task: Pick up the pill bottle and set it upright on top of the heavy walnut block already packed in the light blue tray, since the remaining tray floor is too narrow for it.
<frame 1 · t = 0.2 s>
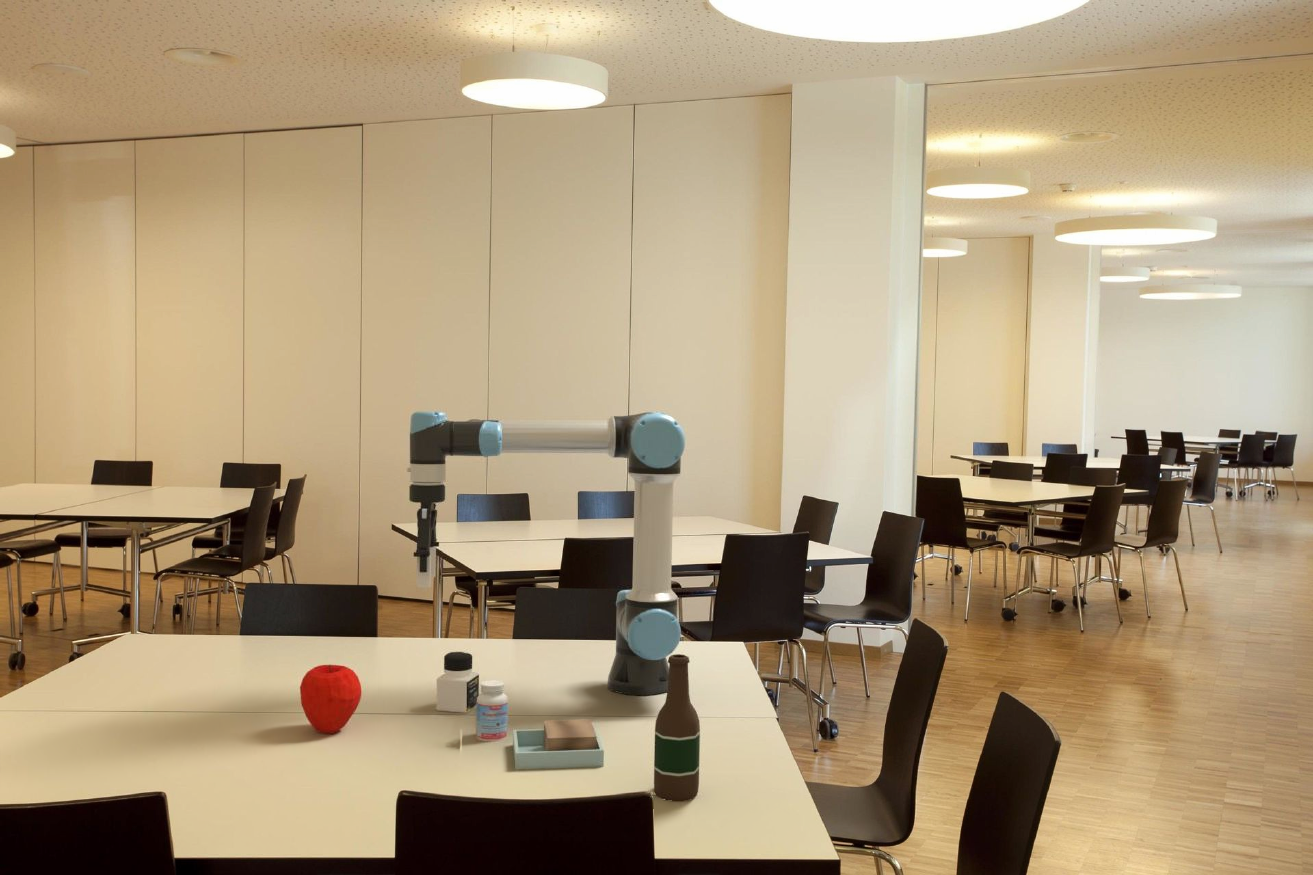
hand: (426, 582, 237), 28 cm above the table, fingers open, 13 cm apart
beer bottle: (676, 795, 190), on the table
walnut block: (569, 754, 208), point 1 cm above the table, touching light blue tray
apple: (330, 731, 222), on the table
medicine bottle: (457, 708, 240), on the table
pill bottle: (491, 740, 218), on the table
light blue tray: (556, 758, 207), on the table
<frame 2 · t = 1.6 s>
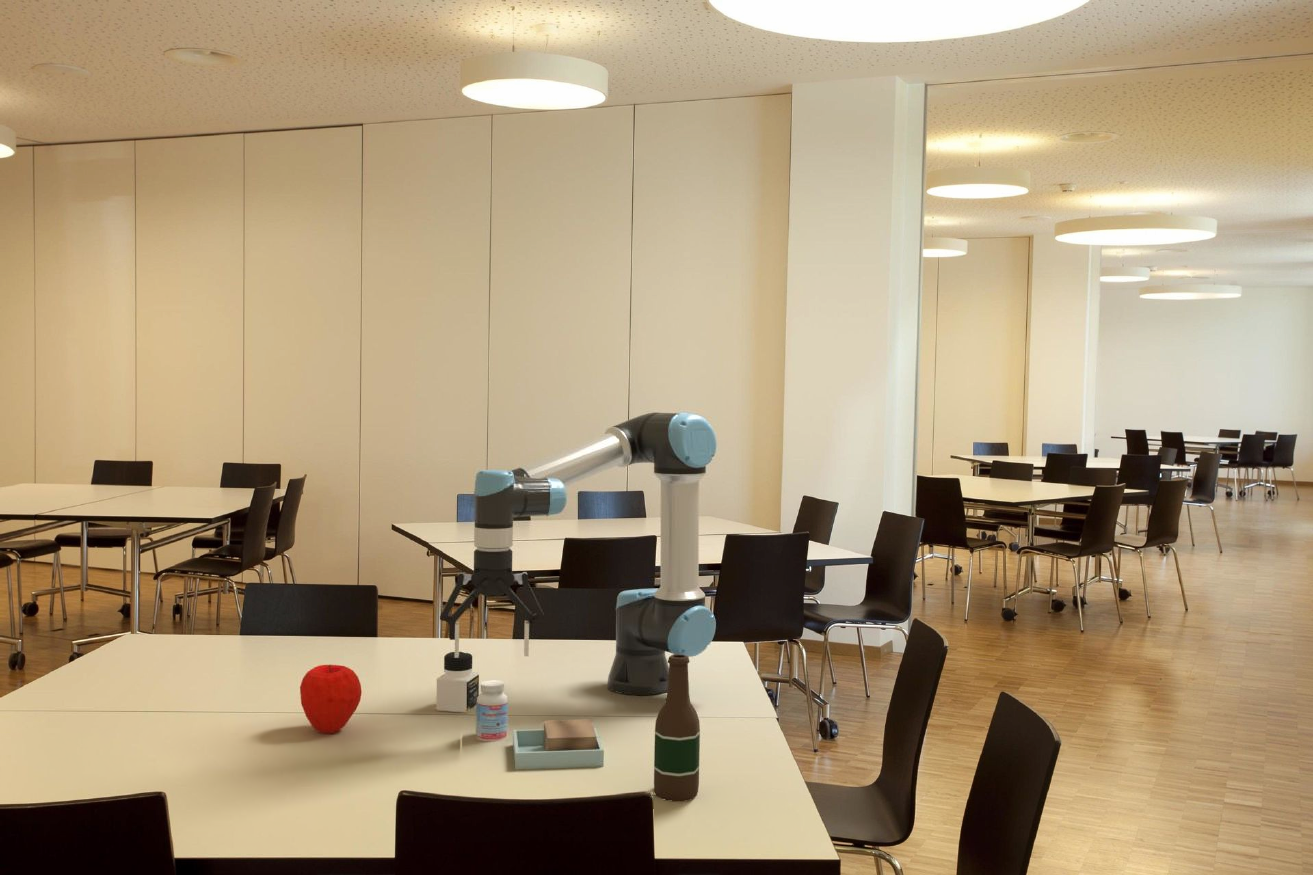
hand: (491, 655, 218), 17 cm above the table, fingers open, 13 cm apart
nothing on the table moved.
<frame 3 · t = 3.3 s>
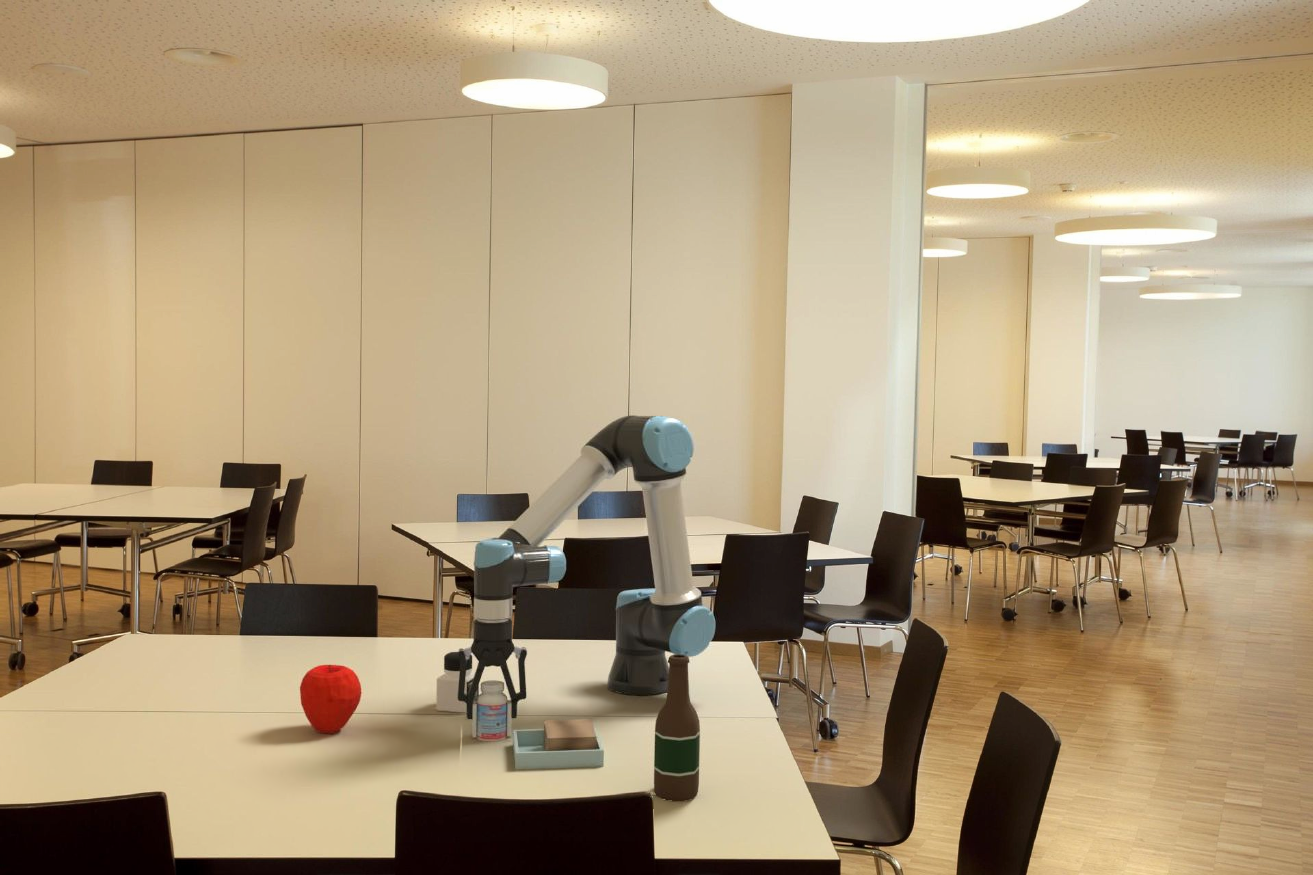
hand: (491, 734, 218), 1 cm above the table, fingers closed on pill bottle, 6 cm apart
pill bottle: (491, 740, 218), on the table, touching gripper
everything else where it was.
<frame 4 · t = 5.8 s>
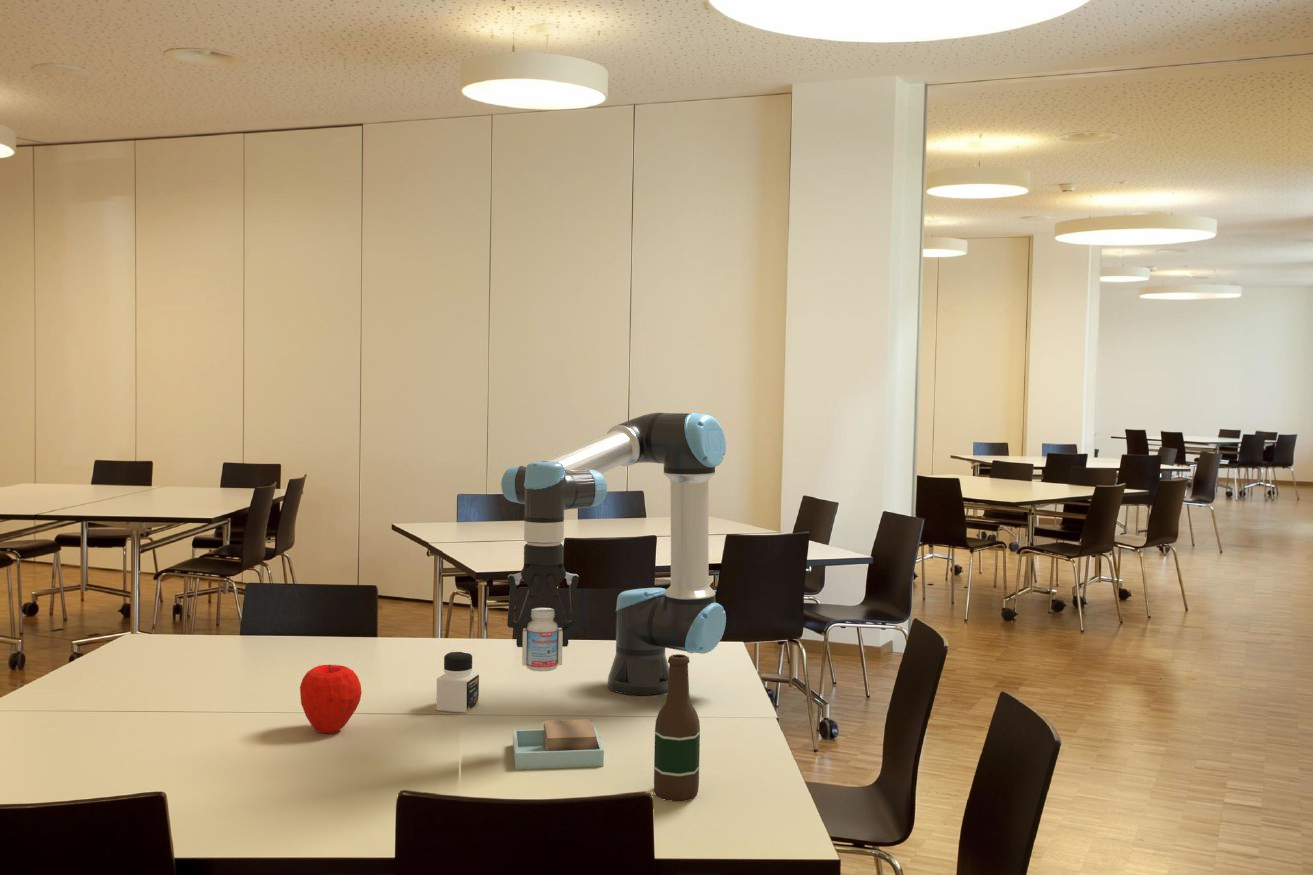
hand: (542, 663, 211), 17 cm above the table, fingers closed on pill bottle, 6 cm apart
pill bottle: (541, 669, 211), point 16 cm above the table, touching gripper
everything else where it was.
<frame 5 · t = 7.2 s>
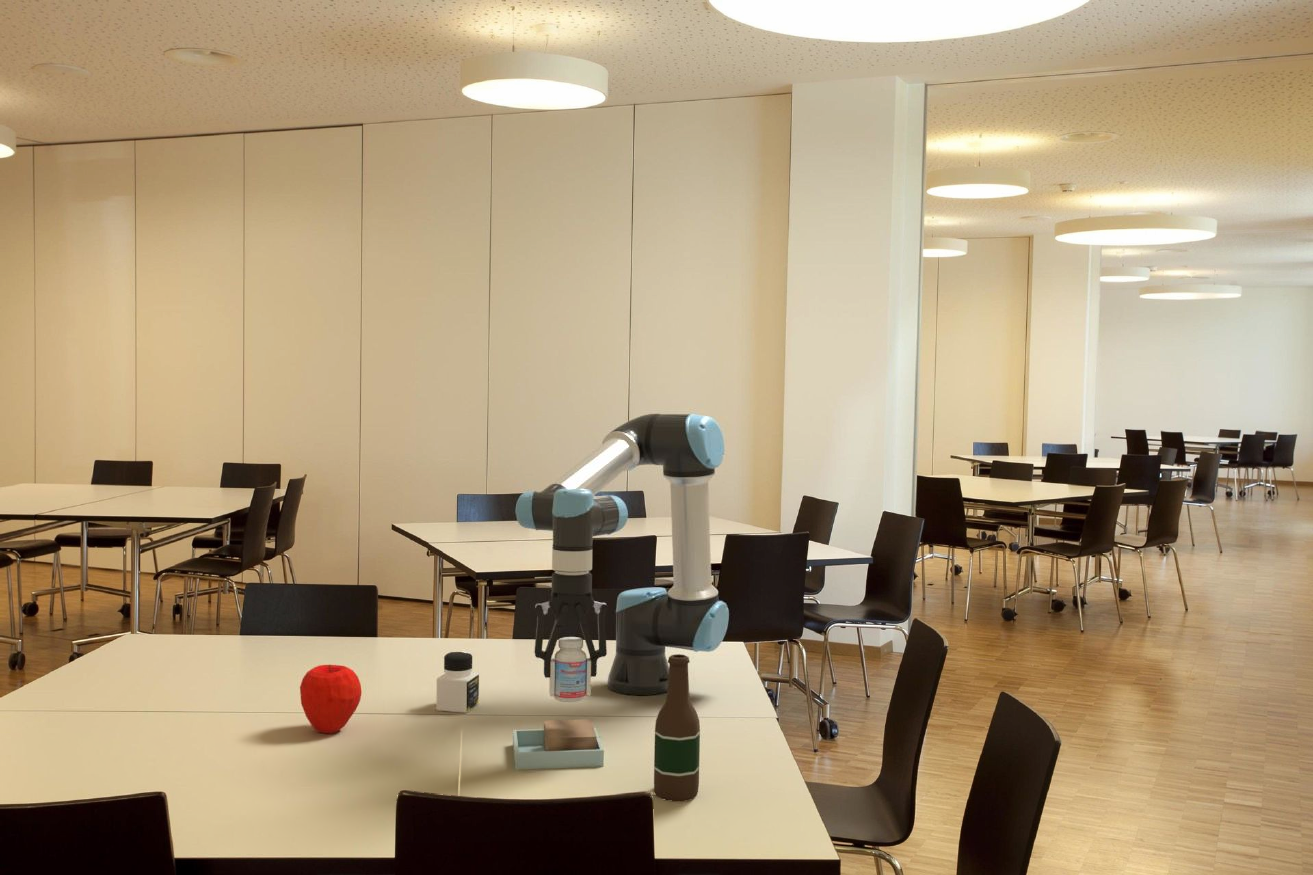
hand: (569, 693, 207), 12 cm above the table, fingers closed on pill bottle, 6 cm apart
pill bottle: (569, 699, 207), point 11 cm above the table, touching gripper
everything else where it was.
when the fingers open (8 cm above the table, at t = 8.3 s): pill bottle drops 1 cm, resting on walnut block.
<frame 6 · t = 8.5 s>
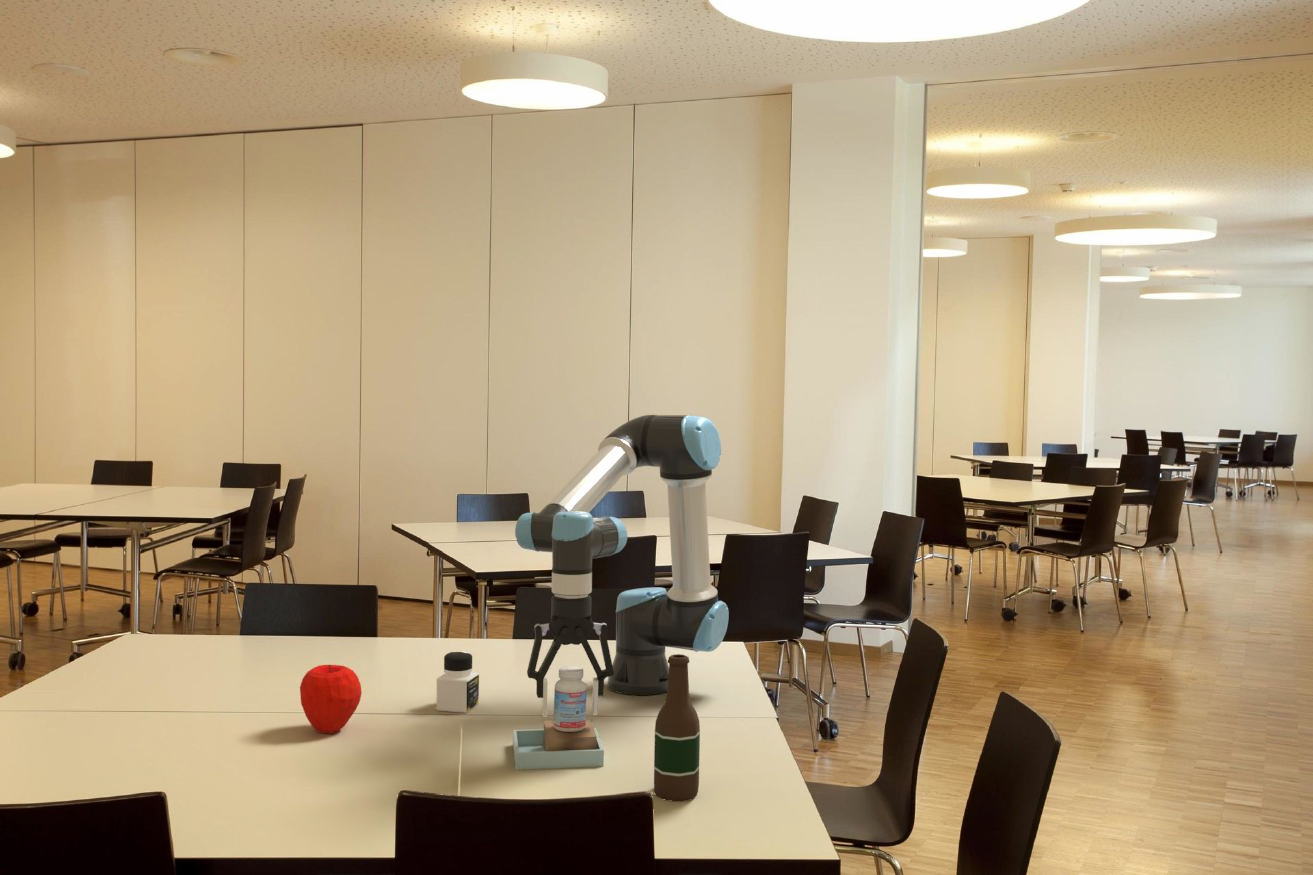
hand: (569, 713, 208), 8 cm above the table, fingers open, 9 cm apart
walnut block: (569, 754, 208), point 1 cm above the table, touching light blue tray, pill bottle
pill bottle: (569, 729, 208), point 5 cm above the table, touching walnut block
everything else where it was.
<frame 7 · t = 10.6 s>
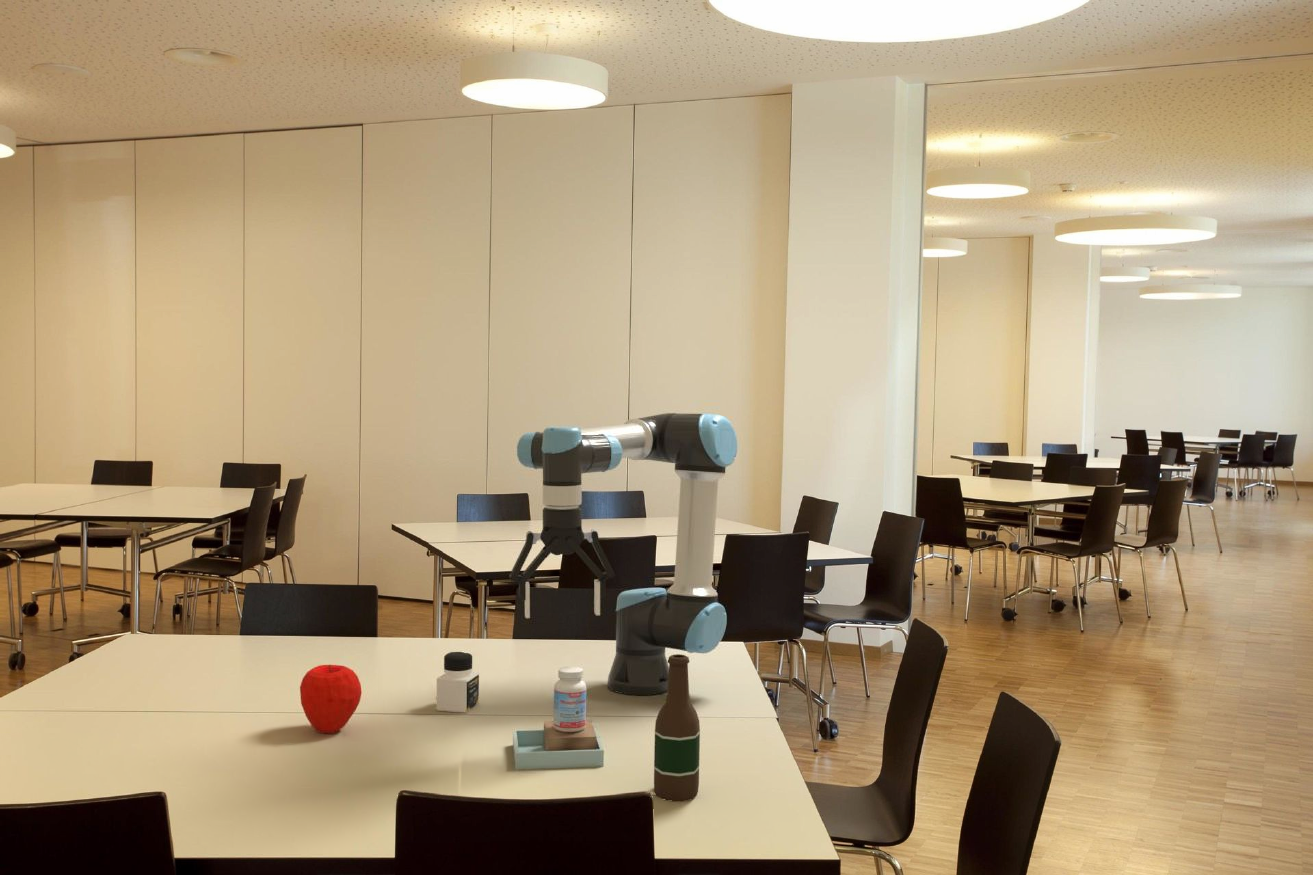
hand: (562, 615, 214), 26 cm above the table, fingers open, 13 cm apart
nothing on the table moved.
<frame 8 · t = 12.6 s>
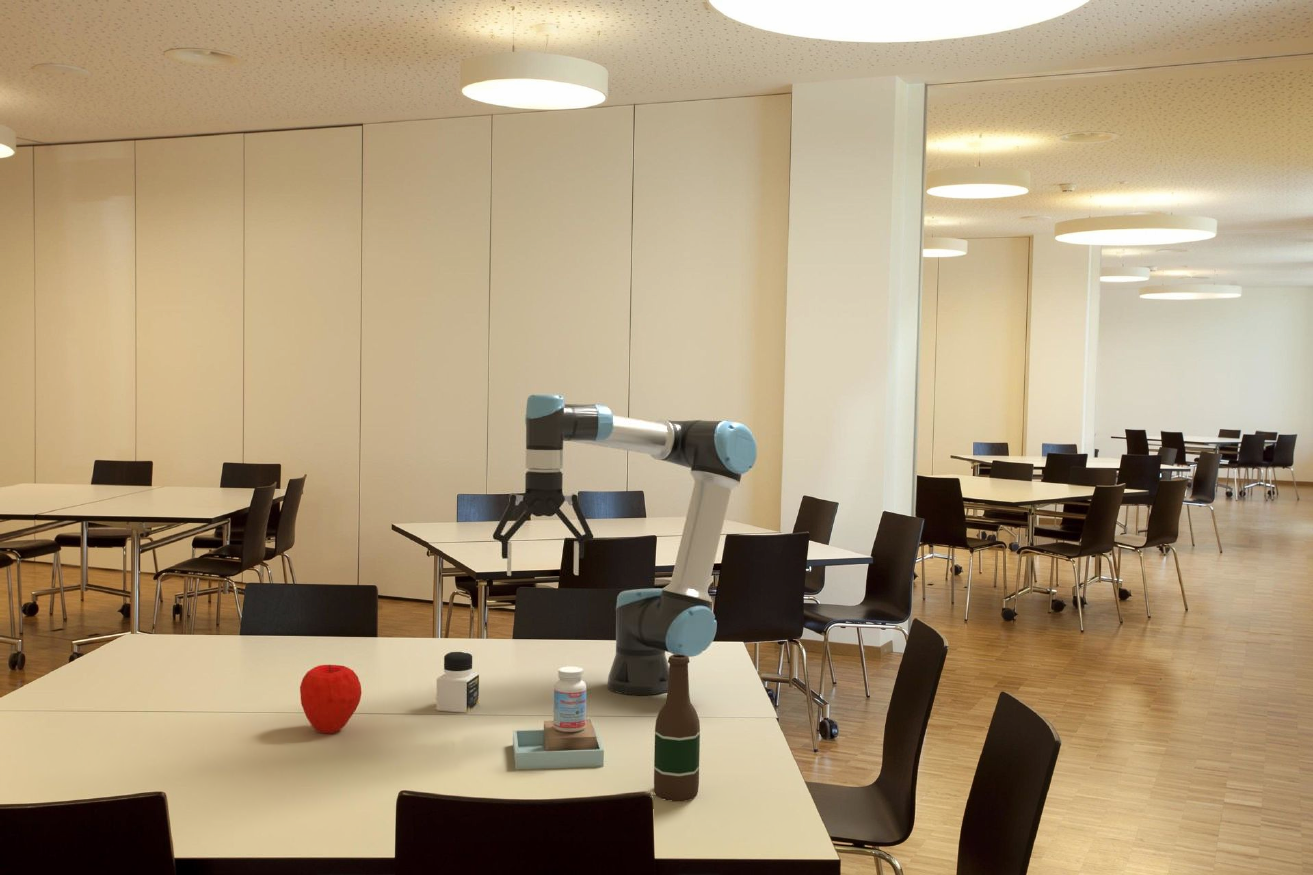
hand: (542, 574, 225), 32 cm above the table, fingers open, 13 cm apart
nothing on the table moved.
at the end: pill bottle inside the target area on the walnut block (0.0 cm from its centre), point 4.8 cm above the walnut block's base; pill bottle tilted 0°; the gripper is holding nothing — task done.
